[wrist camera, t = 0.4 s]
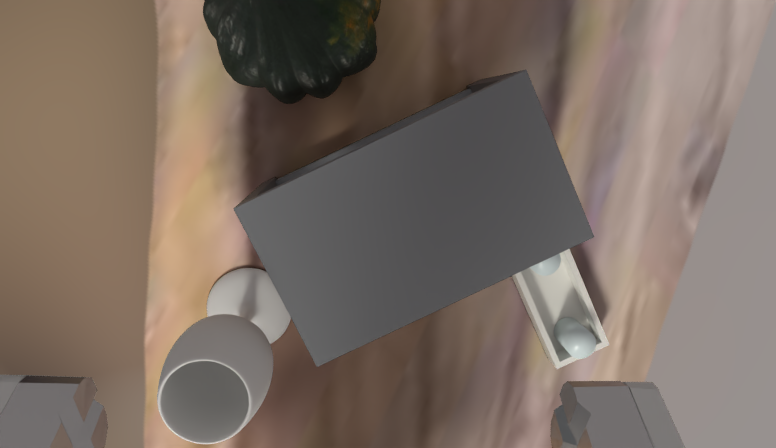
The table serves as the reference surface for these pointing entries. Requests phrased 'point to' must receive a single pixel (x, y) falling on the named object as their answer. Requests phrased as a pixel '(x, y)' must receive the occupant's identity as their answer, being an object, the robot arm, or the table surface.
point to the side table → (415, 216)
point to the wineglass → (223, 360)
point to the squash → (293, 42)
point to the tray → (560, 309)
